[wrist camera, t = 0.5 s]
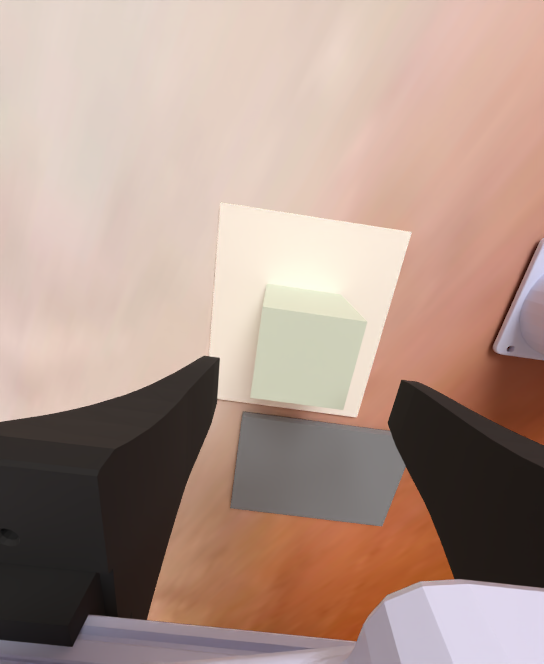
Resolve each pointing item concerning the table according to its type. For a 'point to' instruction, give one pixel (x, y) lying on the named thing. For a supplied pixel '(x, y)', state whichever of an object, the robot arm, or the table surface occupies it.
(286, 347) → the sage block
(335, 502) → the slate mat
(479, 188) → the table surface
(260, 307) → the card
